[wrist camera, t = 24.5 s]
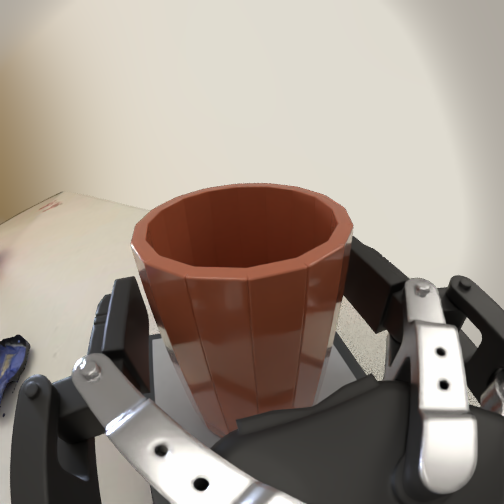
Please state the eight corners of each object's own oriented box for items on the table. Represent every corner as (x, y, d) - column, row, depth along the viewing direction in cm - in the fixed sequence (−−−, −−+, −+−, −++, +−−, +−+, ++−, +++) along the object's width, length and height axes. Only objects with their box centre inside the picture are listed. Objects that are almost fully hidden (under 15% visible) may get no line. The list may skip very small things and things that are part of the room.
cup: (290, 337, 17) (295, 176, 12) (336, 422, 11) (399, 245, 6) (187, 361, 15) (142, 199, 10) (207, 459, 10) (116, 304, 5)
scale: (311, 318, 21) (314, 294, 20) (398, 453, 11) (416, 439, 9) (149, 353, 19) (138, 331, 17) (169, 524, 8) (152, 521, 6)
